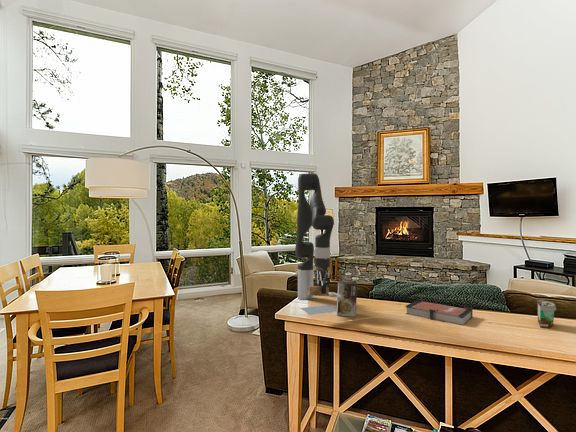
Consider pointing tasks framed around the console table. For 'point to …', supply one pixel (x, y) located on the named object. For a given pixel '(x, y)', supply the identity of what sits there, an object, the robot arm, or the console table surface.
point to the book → (440, 312)
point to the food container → (546, 314)
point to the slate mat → (319, 309)
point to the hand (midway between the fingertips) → (322, 292)
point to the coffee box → (346, 298)
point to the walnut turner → (317, 291)
